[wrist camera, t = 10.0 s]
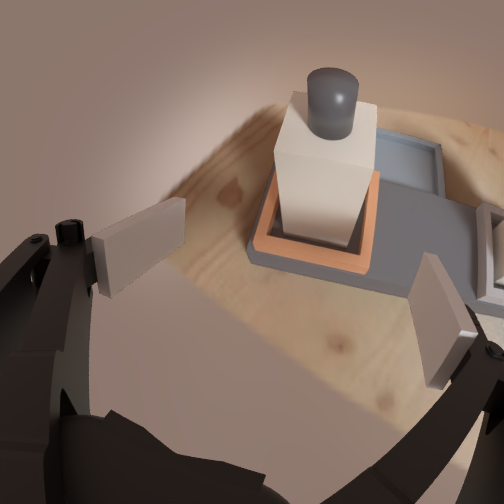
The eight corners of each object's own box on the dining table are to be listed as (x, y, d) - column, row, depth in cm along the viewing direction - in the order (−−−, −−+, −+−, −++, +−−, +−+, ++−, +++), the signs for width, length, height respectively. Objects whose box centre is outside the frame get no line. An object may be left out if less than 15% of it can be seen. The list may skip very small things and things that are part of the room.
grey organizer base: (523, 242, 22) (545, 225, 18) (524, 322, 20) (551, 313, 15) (276, 179, 29) (273, 149, 25) (251, 263, 26) (242, 243, 22)
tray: (436, 152, 28) (440, 144, 27) (440, 211, 25) (445, 204, 24) (337, 128, 31) (338, 119, 29) (327, 184, 28) (328, 175, 27)
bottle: (354, 194, 24) (384, 65, 12) (346, 248, 22) (386, 126, 10) (297, 182, 25) (290, 50, 13) (283, 234, 23) (267, 106, 12)
